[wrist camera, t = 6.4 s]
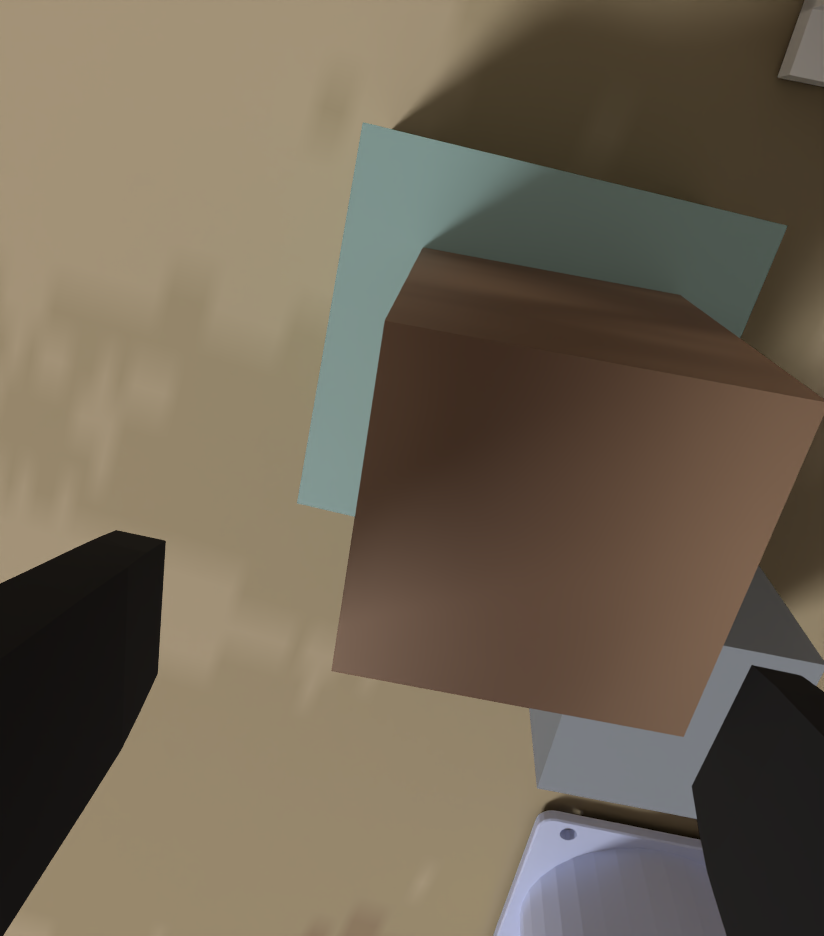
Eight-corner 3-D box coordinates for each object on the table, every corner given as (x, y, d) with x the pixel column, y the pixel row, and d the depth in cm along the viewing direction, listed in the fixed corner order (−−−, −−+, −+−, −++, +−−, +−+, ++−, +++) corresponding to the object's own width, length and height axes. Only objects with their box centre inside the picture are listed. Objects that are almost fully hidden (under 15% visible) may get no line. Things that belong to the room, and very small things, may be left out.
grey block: (729, 522, 18) (826, 665, 13) (674, 656, 20) (741, 827, 15) (561, 490, 18) (595, 620, 13) (521, 627, 20) (536, 787, 15)
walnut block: (679, 294, 12) (829, 403, 7) (607, 520, 14) (683, 736, 9) (422, 247, 12) (384, 321, 7) (384, 479, 14) (331, 671, 9)
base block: (705, 205, 16) (787, 225, 12) (601, 486, 18) (637, 583, 14) (392, 129, 16) (362, 122, 11) (336, 424, 18) (297, 503, 14)
